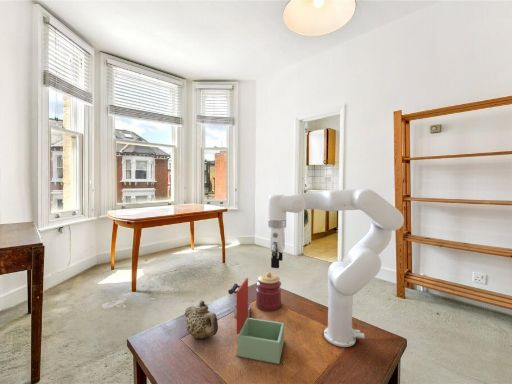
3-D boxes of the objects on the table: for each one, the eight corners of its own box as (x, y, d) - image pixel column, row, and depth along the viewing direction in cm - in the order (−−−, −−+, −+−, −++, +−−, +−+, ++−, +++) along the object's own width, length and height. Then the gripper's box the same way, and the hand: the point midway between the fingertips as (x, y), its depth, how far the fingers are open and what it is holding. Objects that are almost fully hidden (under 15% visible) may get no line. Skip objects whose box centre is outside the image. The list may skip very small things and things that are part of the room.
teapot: (176, 331, 105) (175, 297, 105) (198, 320, 114) (198, 288, 113) (205, 355, 91) (205, 316, 90) (228, 341, 99) (229, 305, 98)
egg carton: (249, 319, 115) (249, 310, 115) (233, 318, 116) (233, 310, 115) (250, 307, 126) (250, 299, 126) (236, 307, 126) (236, 299, 126)
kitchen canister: (285, 303, 131) (285, 270, 130) (273, 314, 120) (274, 278, 119) (264, 296, 138) (264, 266, 137) (251, 306, 127) (251, 273, 126)
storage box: (283, 341, 99) (284, 323, 99) (279, 364, 87) (279, 342, 87) (246, 335, 103) (247, 317, 103) (237, 356, 91) (237, 335, 90)
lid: (248, 278, 102) (235, 276, 103) (238, 291, 90) (225, 289, 91) (248, 316, 102) (236, 314, 104) (238, 334, 90) (225, 332, 92)
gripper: (283, 227, 93) (283, 272, 94) (288, 221, 110) (288, 258, 111) (264, 227, 95) (264, 270, 96) (272, 220, 112) (271, 257, 113)
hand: (277, 263), depth 103 cm, fingers open, 9 cm apart
